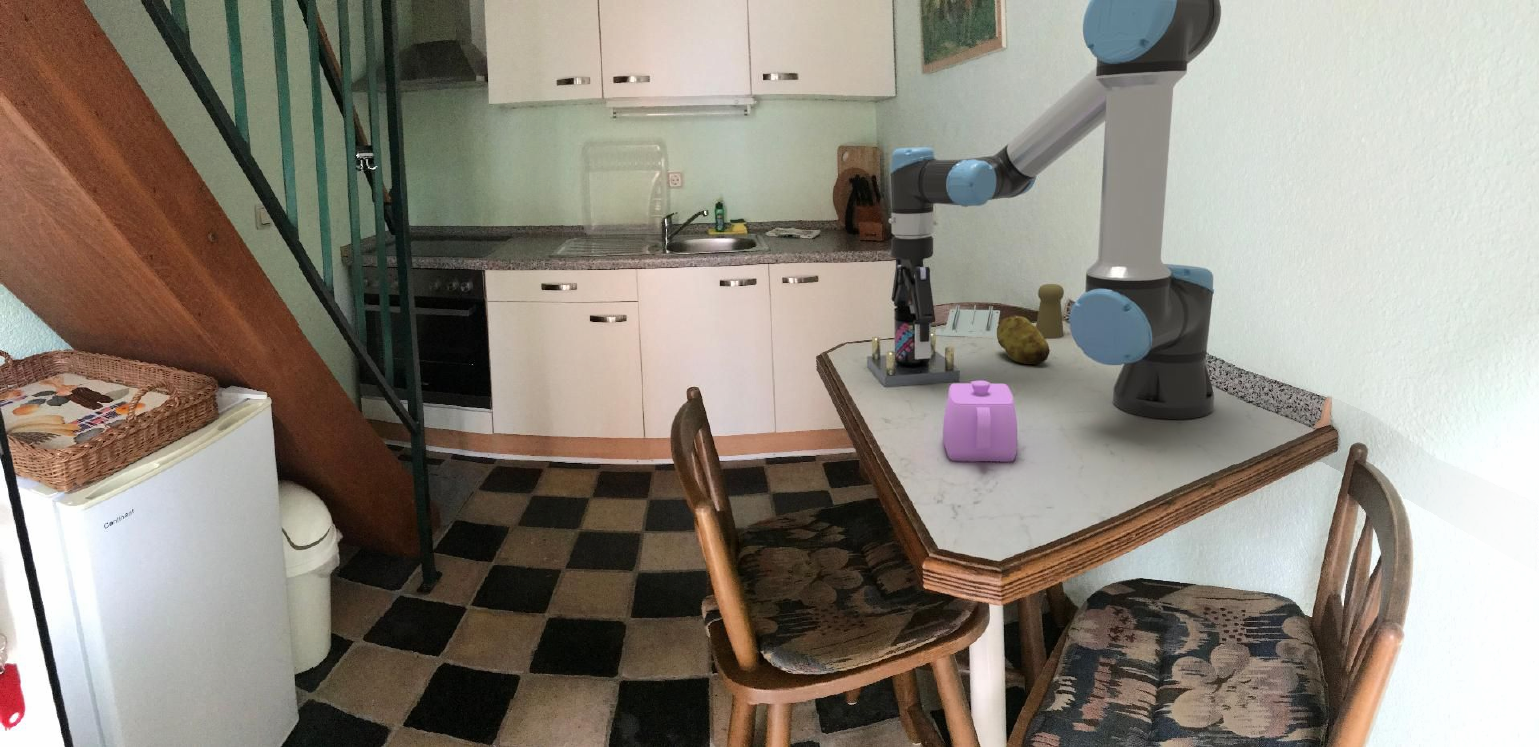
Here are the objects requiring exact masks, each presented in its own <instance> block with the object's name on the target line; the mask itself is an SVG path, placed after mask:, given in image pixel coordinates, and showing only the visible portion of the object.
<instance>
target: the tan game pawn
mask: <svg viewBox="0 0 1539 747" xmlns="http://www.w3.org/2000/svg"><path fill="white" fill-rule="evenodd" d="M1064 293H1065V290H1064V288H1063V286H1061V285H1060V284H1055V283H1047V284H1042V285H1041V286H1039V287H1038V292H1037V295H1038V298H1039V300H1040V301H1039V308H1038V312H1037V318H1036V325H1035V326H1036V327H1037V328H1038V329H1039V330H1040V332H1041V334H1042V336H1043V337H1044V338H1045V339H1046V340H1047V339H1049V340H1050V339H1051V340H1052V339H1053V340H1054V339H1055V340H1056V339H1060V338H1063V337H1064V336H1065V334H1064V323H1063V312H1062V300H1063V298H1064V295H1065V294H1064Z"/></svg>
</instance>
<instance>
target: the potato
mask: <svg viewBox="0 0 1539 747" xmlns="http://www.w3.org/2000/svg"><path fill="white" fill-rule="evenodd" d="M996 340H997V342H998V345H999V346H1000V347H1001V348H1003V349H1004V350H1005V353H1006V355H1007V357H1008V358H1009V359H1011V360H1012V361H1014V362H1017V363H1019V364H1020V363H1021V364H1024V365H1025V364H1026V365H1027V364H1028V365H1039V364H1041V363H1043V362H1045V361H1046V360H1047V359H1048V357H1049V355H1050V351H1051V349H1050V347H1049V344H1048V342H1047V339H1046V338H1044V337H1043V336H1042V334H1041V332H1040V330H1039V329H1038V328H1037V327H1036V325H1035V324H1033V322H1031V321H1030V320H1029V319H1028V318H1026V317H1025V316H1021V315H1010V316H1008V317H1005V318H1003V319H1001V321H999V322H998V327H997V339H996Z"/></svg>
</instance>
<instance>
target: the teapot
mask: <svg viewBox="0 0 1539 747" xmlns="http://www.w3.org/2000/svg"><path fill="white" fill-rule="evenodd" d="M945 404H946V405H945V409H944V415H943V416H944V417H943V423H942V424H943V425H942V426H943V427H942V439H943V444H944V448H945V452H946V454H947V457H948V459H949V460H950V461H953V462H965V461H991V462H990V463H993V462H992V461H997V462H996V463H1011V462H1010V461H1012V462H1013V461H1014V460H1015V457H1016V454H1017V450H1018V422H1017V414H1016V413H1017V412H1016V407H1015V402H1014V396H1013V393H1012V391H1011V389H1010V387H1009V386H1008V385H1007V384H1006V383H990V382H989V381H986V380H974V381H972V380H971V381H970V383H968V382H966V383H963V382H960V383H951V385H949V388H948V393H947V399H946V402H945ZM998 461H1000V462H998Z"/></svg>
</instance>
